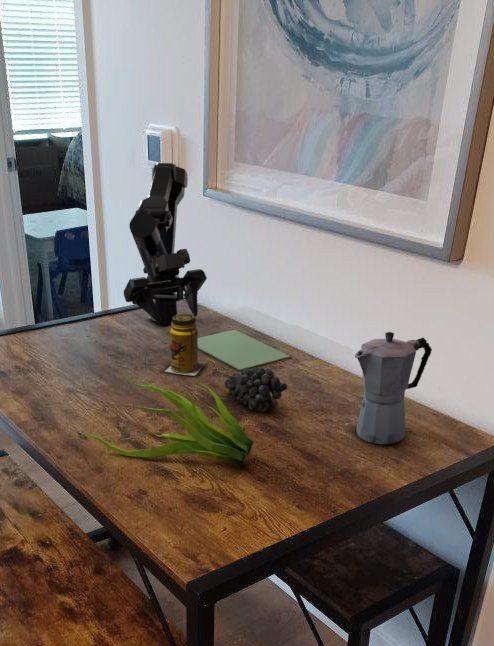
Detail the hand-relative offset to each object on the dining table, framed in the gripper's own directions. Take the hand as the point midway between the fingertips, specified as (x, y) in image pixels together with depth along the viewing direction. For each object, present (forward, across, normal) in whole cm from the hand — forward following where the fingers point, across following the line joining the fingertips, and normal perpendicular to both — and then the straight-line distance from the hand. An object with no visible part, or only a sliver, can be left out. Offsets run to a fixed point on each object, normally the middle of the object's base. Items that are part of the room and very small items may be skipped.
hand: (178, 318), depth 157 cm
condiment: (+10, 0, +5) cm, 11 cm away
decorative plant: (+34, -24, -19) cm, 45 cm away
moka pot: (+42, +17, -27) cm, 53 cm away
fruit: (+26, +3, -11) cm, 28 cm away
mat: (+7, +16, +8) cm, 19 cm away
